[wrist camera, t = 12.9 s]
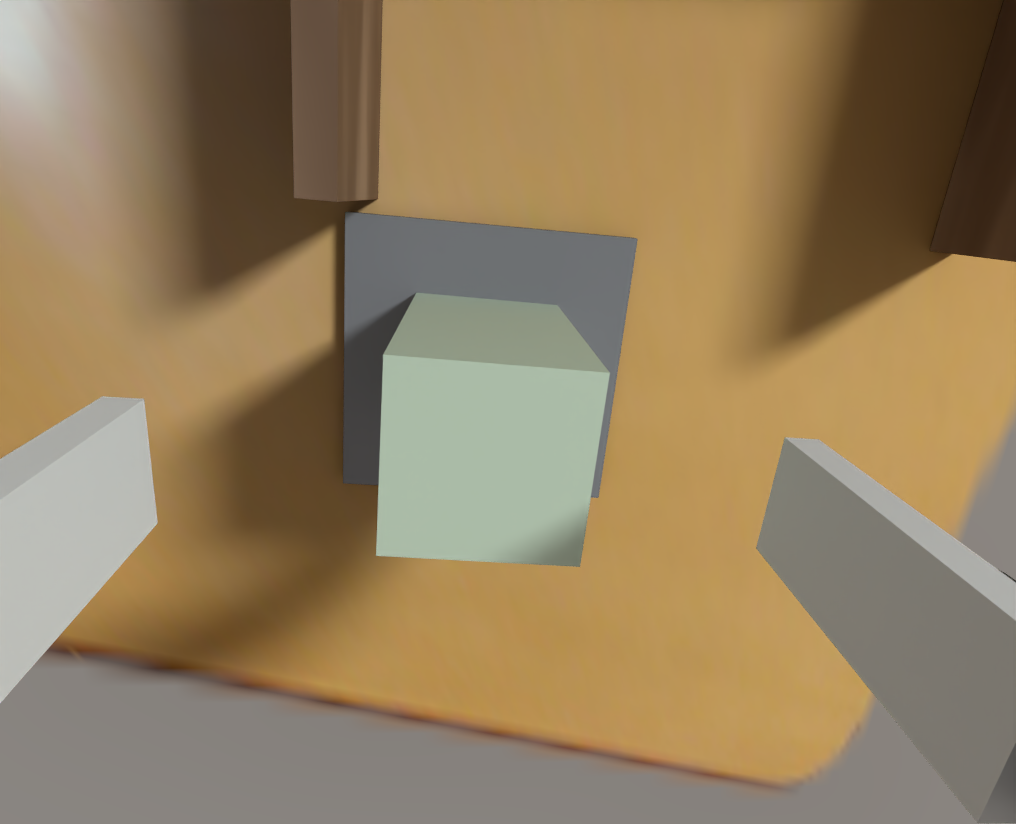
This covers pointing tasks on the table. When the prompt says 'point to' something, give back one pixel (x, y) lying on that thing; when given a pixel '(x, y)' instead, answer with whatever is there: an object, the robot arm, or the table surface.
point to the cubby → (356, 122)
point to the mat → (468, 273)
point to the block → (487, 433)
